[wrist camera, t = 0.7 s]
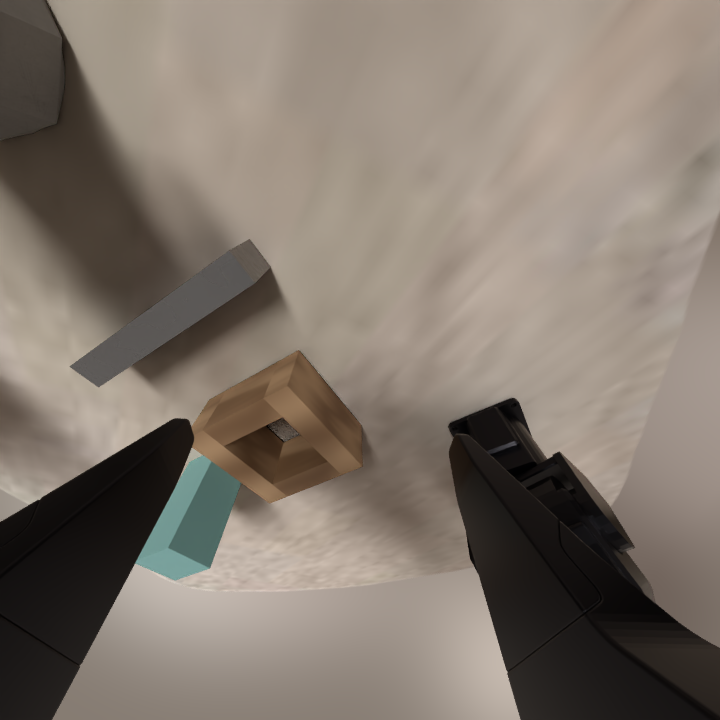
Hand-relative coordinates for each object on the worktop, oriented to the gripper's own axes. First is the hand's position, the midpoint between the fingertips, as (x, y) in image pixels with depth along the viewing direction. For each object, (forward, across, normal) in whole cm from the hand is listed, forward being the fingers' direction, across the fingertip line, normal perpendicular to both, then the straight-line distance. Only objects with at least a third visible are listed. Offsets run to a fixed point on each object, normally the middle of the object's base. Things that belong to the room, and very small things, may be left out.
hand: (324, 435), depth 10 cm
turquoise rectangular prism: (+12, +12, +19) cm, 26 cm away
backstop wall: (+12, +11, +1) cm, 17 cm away
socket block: (+12, +4, +10) cm, 17 cm away
